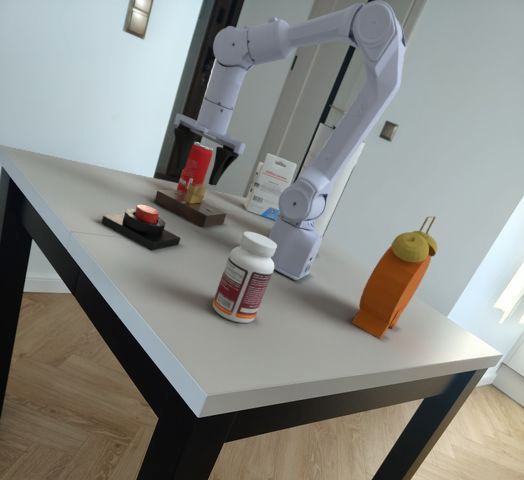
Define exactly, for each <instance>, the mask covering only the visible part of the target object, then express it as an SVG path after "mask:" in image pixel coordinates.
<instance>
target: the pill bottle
mask: <svg viewBox="0 0 524 480" xmlns="http://www.w3.org/2000/svg"><path fill="white" fill-rule="evenodd" d="M239 243H240V246H239V245H238V246H236V247H234V248H232V250H231V251H230V252H229V255H228V257H227V261H226V264H225V266H224V269H223V272H222V275H221V278H220V281H219V282H218V283H219V284H218V287H217V290H216V292H215V294H214V298H213V301H212V308H213V310H214V311H215V312H216V313H217V314H218V315H220V316H221V317H222V318H223V319H226V320H229V321H231V322H236V323H241V324H246V323H247V324H248V323H251V322H253V321H254V320H255V318H256V316H257V313H258V311H259V308H260V306H261V303H262V300H263V298H264V296H265V293H266V290H267V288H268V286H269V283H270V281H271V278H272V276H273V273H274V262H273V261H272V259H271V256H273V255H274V253H275V250H276V248H277V245H276V243H275V242H273V241H272V240H271V239H269V238H268V237H267V236H265V235H262V234H260V233H257V232H253V231H244V232H243V234H242V235H241V238H240V242H239Z"/></svg>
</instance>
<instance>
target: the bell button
mask: <svg viewBox="0 0 524 480" xmlns="http://www.w3.org/2000/svg"><path fill="white" fill-rule="evenodd" d="M135 209H136V211H135V215H134V216H135V217H137V218H139V219H141V220H144V221H147V222H151V223H156V222H157V218H158V217H159V215H160V212H159V211H158V210H157V209H156V208H154V207H151V206H149V205H144V204H137V205H136V208H135Z"/></svg>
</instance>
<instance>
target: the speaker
mask: <svg viewBox="0 0 524 480" xmlns="http://www.w3.org/2000/svg"><path fill="white" fill-rule="evenodd" d="M336 127H337V126H336V125H334V124H332V126H330V125H327V124H326V123H323V122H320V123H319V125H318V128H317V130H316V133H315V135H314V138H313V140H312V142H311V145H310V148H309V150H308V152H307V155H306V157H305V160H304V162H303V164H302V167H301V170H300V172H299V174H298V177H299V176H300V175H301V174H302V173H303V172H304V171H306V170H307V169H308V168H309V167H310V166H311V164H312V163H313V161H314V160H315V158H316V157H317V155H318V154H319V152H320V151H321V149H322V148H323V146H324V145H325V143H326V142H327V140H328V139H329V137H330V136H331V134H332V133H333V131H334V130H335V128H336ZM365 146H366V142H365V141H363V142H362V143H361V145H360V146H359V148H358V149H357V150H356V152H355V153H354V155H353V156H352V158H351V159H350V160H349V162H348V163H347V165H346V166H345V168H344V169H343V171H342V172H341V173H340V175H339V176H338V178H337V179H336V181H335V182H334V187H333V191H332V192H331V194H330V195H329V197H328V200H327V204H326V209H325V211H324V213H323V214H322V215H321V216H320V217H318V218H317V219H315V227H314V229H313V230H314V231H315V232H317V233H319V234H320V235H322V237H323V238H324V237H325V234H326V231H327V230H328V227H329V225H330V223H331V222H332V221H331V220H332V219H333V217H334V214H335V211H336V209H337V207H338V205H339V203H340V201H341V198H342V196H343V194H344V192H345V189H346V187H347V185H348V182H349V180H350V179H351V176H352V174H353V172H354V169H355V167H356V165H357V164H358V163H357V162H358V161H359V158H360V156H361V155H362V151H363V149H364V147H365Z"/></svg>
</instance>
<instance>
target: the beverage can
mask: <svg viewBox="0 0 524 480" xmlns="http://www.w3.org/2000/svg"><path fill="white" fill-rule="evenodd" d="M213 150H214V149H213V148H212V147H211V146H208V145H206V144H204V143H201V142H198V141H195V142H194V144H193V146H192V149H191V151H190V154H189V157H188V161H187V164H186V167H185V169H181V170H182V171H181V174H180V177H179V180H178V183H177V187H176V190H182V191H184V192H186V193H187V191H188V187H189V184H191V183H194V184H202V185H204V182H205V180H206V176H207V173H208V170H209V167H210V165H211V164H210V163H211V160H212V157H213V153H214V152H213Z"/></svg>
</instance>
